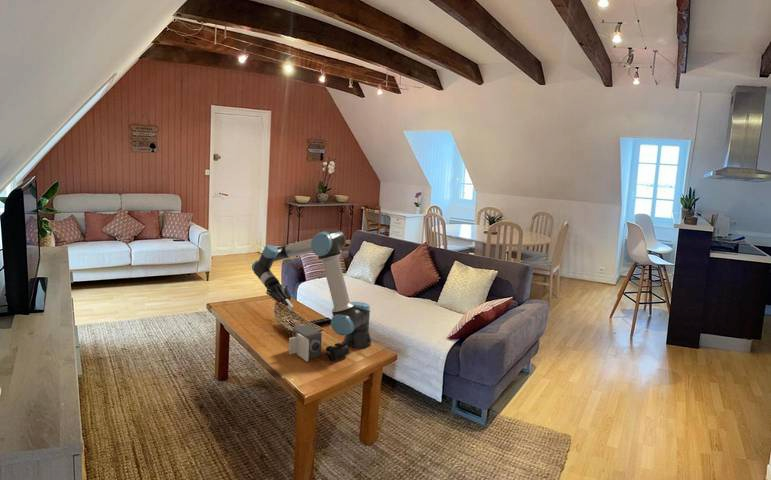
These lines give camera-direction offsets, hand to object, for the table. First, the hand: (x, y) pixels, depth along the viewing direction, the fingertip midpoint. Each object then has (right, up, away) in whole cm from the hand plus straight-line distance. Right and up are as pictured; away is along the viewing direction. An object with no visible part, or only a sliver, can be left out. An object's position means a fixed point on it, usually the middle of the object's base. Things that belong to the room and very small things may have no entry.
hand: (292, 308), depth 255 cm
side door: (+5, -23, -11) cm, 26 cm away
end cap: (+24, -24, -6) cm, 35 cm away
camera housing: (+8, -22, -2) cm, 24 cm away
